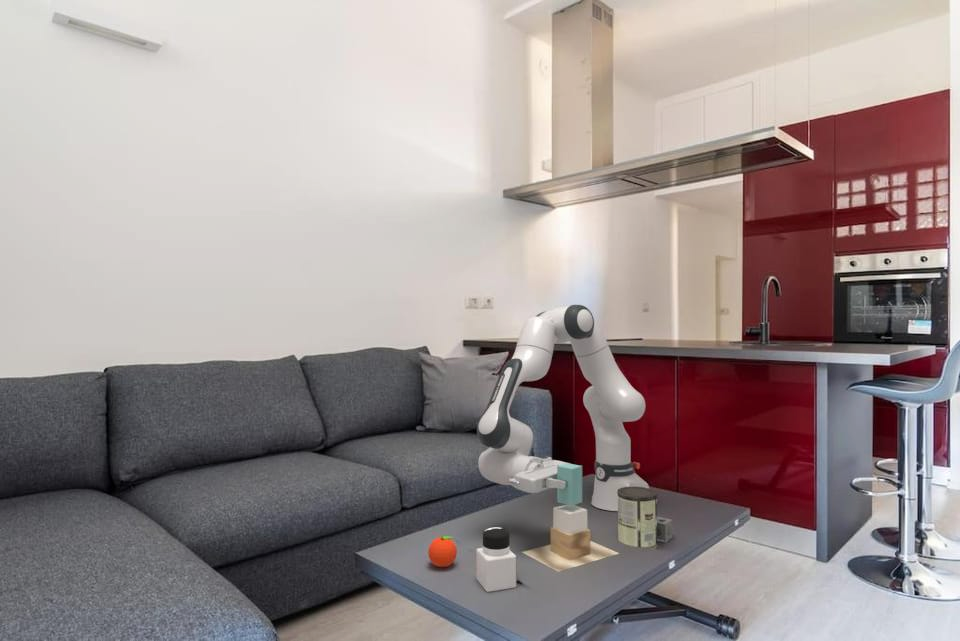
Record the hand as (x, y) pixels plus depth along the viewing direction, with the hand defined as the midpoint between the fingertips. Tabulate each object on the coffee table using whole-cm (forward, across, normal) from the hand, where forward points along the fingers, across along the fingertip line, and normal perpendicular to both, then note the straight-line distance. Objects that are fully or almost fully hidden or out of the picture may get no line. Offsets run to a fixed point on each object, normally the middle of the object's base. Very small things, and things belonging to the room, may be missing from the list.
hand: (572, 482), depth 143 cm
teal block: (-1, 0, +5) cm, 5 cm away
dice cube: (+10, +28, +19) cm, 35 cm away
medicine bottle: (-5, -24, +19) cm, 31 cm away
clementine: (-21, -24, +19) cm, 37 cm away
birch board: (-1, 0, +19) cm, 19 cm away
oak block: (-1, 0, +18) cm, 18 cm away
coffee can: (+8, +20, +19) cm, 28 cm away
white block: (-1, 0, +12) cm, 12 cm away
